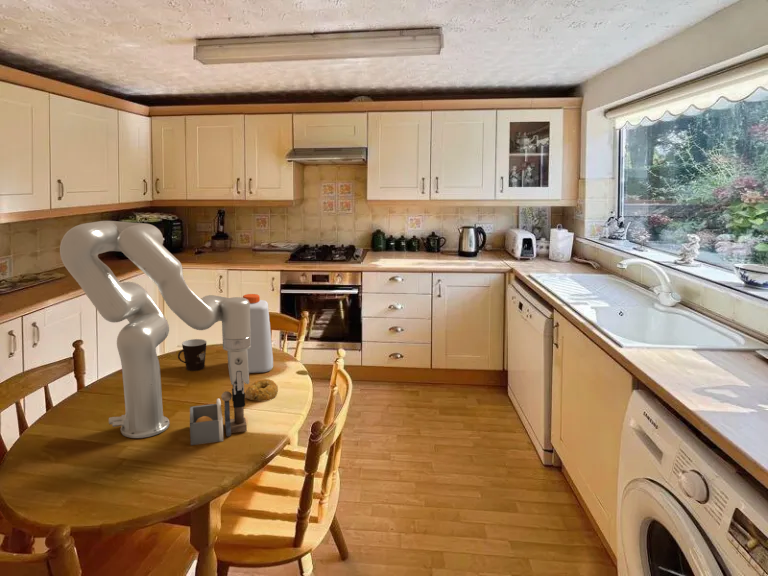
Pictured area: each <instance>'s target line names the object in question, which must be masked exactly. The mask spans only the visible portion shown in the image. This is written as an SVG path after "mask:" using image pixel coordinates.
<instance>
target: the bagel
mask: <svg viewBox="0 0 768 576" xmlns="http://www.w3.org/2000/svg"><path fill="white" fill-rule="evenodd" d="M278 387H279V386H278V385H277V383H276V382H275V381H274V380H272V379H269V378H263V379H257V380H256V381H254V382H253V383H252V384H251V385H250V386H249V387H248V388H247V389H246V391H245V392H244V393H245V399H247V400H250V401H259V402H264V401H265V402H266V401H270V399H271V400H272V399H275V397H276V396H277V394H278V391H279V388H278Z"/></svg>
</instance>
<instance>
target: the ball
mask: <svg viewBox="0 0 768 576" xmlns="http://www.w3.org/2000/svg"><path fill="white" fill-rule="evenodd" d="M205 421H212V419H211V418H210V417H207V416H203V417H200V418H198V419H197V421H196V422H205ZM196 422H195V423H196Z"/></svg>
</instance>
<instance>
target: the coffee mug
mask: <svg viewBox="0 0 768 576" xmlns="http://www.w3.org/2000/svg"><path fill="white" fill-rule="evenodd" d="M181 345H182V349H181V350H180V351H179V352H178V354H177V359H178V360H179V361H180V362H181V363H183V364H185V369H186V370H187V371H189V372H197V371H201V370H204V369H205V367H206V354H207V353H206V351H207V340H205V339H199V338H198V339H197V338H196V339H195V338H194V339H193V338H192V339H186V340H183V342H182V343H181ZM182 353H183V357H184V360H182V359H181V357H180V356H181V354H182Z"/></svg>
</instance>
